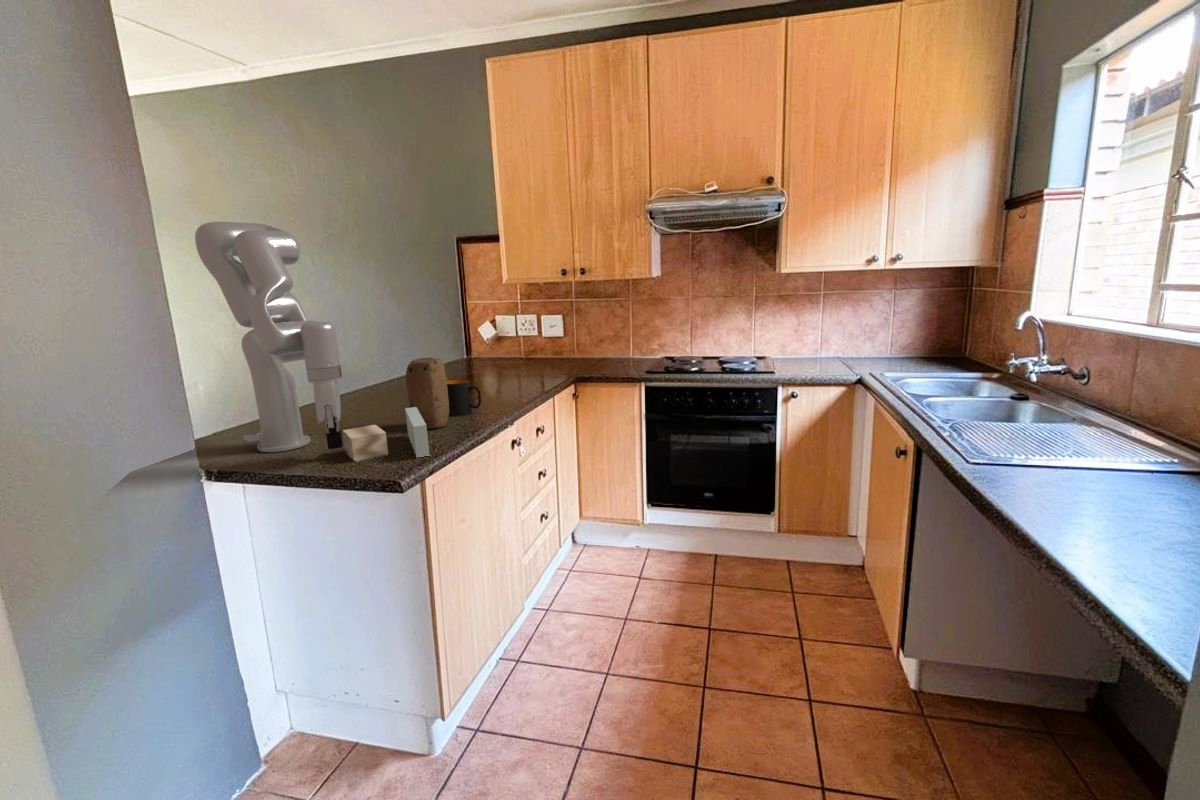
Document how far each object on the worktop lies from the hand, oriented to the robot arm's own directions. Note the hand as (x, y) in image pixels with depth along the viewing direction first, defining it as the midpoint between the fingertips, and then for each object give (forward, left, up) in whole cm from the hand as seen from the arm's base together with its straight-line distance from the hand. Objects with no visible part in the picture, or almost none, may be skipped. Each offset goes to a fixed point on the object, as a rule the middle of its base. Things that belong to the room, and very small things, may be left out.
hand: (335, 447), depth 139 cm
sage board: (+19, 0, -3) cm, 20 cm away
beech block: (+7, 0, -3) cm, 7 cm away
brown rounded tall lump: (+25, +19, -3) cm, 31 cm away
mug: (+37, +30, -3) cm, 48 cm away
